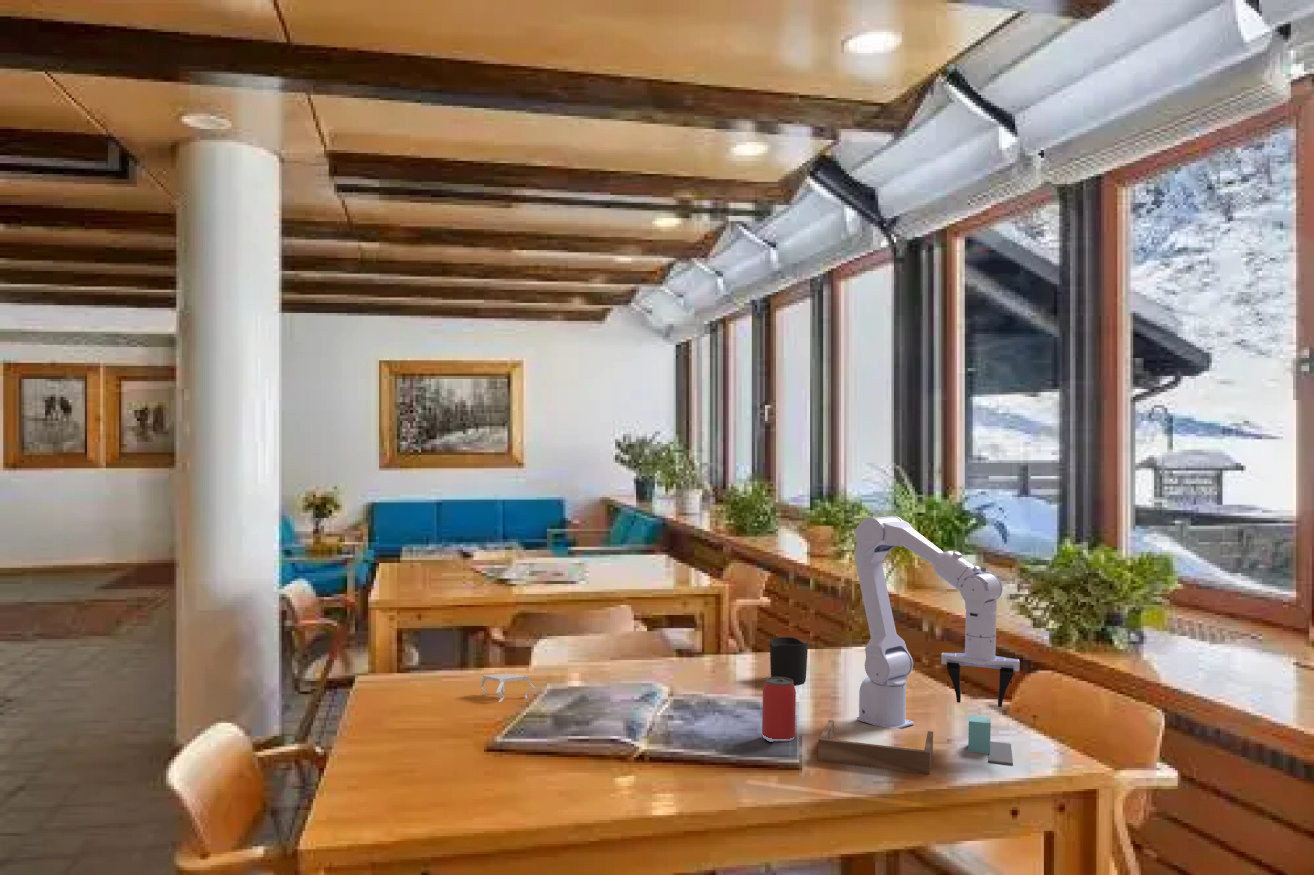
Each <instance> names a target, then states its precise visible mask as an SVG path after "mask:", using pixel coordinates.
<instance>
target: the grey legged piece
mask: <svg viewBox="0 0 1314 875" xmlns="http://www.w3.org/2000/svg"><path fill="white" fill-rule="evenodd" d="M487 680H492V681H495V682H496V681H497V682H499V684H498V687H497V689H496V691H495V694H497V695H498V696H499V697H500V698H499V699H498V700H497V703H500V702H503V700H504V698H505V696H504V694H505V691H506V690H505V689H506V688H505V685H506V684H505V683H508V682H515V681H517V682H518V681H524V680H525V681H526V683H527V684H529V685H530V686H531V688H530V689H528V691H526V692H525V693H523V694H524V698H525V699H528V694H529V693H530V692H532V691H533V690H534V689H536V687H535V685H534V684H533V683H532V682H531V680H530V679H529V676H527V675H520V674H512V673H495V674H484V675H482V680H481V684H480V688H481V690H482V691H483V692H484V695H483V696H484V697H486V696H487V695H488V691H487V690H486V689H485V688H484V685H485V683H486V681H487Z"/></svg>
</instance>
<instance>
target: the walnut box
mask: <svg viewBox="0 0 1314 875" xmlns="http://www.w3.org/2000/svg"><path fill="white" fill-rule="evenodd" d="M834 725H835V720H830V719H829V720H828V721H827V723H826V725H825V727H824V729H823V730H822V732H821V734H820V736H819V737H818V740H817V742H818V745H817V746H818V749H817V761H818V762H826V763H832V764H833V763H834V764H840V765H841V764H842V765H851V766H856V767H858V766H859V767H863V768H864V767H866V768H872V769H873V768H875V769H881V770H890V771H897V772H905V773H912V774H913V773H914V774H922V775H930V773H931V768H932V767H931V766H932V760H933V754H934V731H931V730H928V731H927V732H926V733H927V734H926V740H925V745H924V749H916V748H909V747H901V746H900V747H898V746H891V745H882V744H873V743H866V742H865V743H864V742H858V741H857V742H856V741H847V740H839V739H834V738H835V736H834V735H835V734H834V732H835V726H834Z"/></svg>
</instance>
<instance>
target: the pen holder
mask: <svg viewBox="0 0 1314 875" xmlns="http://www.w3.org/2000/svg"><path fill="white" fill-rule="evenodd" d="M808 648H809V642H803V641H802V640H800V639H798V638H796V637H790V636H780V637H779V636H777V637H772V638H771V639H770V640H769V659H770V660H769V662H770V666H769V667H770V677H785V678H790V679H792V680H793V684H794V686H798V685H803V684H805V682H806V681H807V669H808V668H807V667H808V652H809V650H808Z"/></svg>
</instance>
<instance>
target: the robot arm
mask: <svg viewBox="0 0 1314 875" xmlns="http://www.w3.org/2000/svg"><path fill="white" fill-rule="evenodd" d="M854 535H855V538H856V543H855V549H854V550H855V551H854V561H855V567H856V571H857V572H856V573H857V576H858V582H859V586H860V591H861V595H862V602H863V606H864V610H865V615H866V620H867V625H868V631H869V635H870V639H869V641H868V642H867V644H866V646H865V648H864V652H865V661H864V670H865V674H866V675H867V677H866V678H865V679H863V681H861V684H860V687H859V697H858V702H859V703H858V708H859V709H858V716H857V717H856V720H857V721H859V722H863V723H865V724H866V723H867V724H868V725H873V726H875V727H884V728H888V729H891V730H892V729H902V728H906V727H909V726H913V725H915V721H912V720H910V719H906V718H907V716H906V715H907V714H906V708H907V707H906V706H907V704H906V703H907V702H906V701H907V696H906V695H907V681H908V676H909V675H910V674H911V673H912V672H913V668H914V659H913V657H912V655H911V654H910V652H909V651H908V649H907V645H906V642H905V640H904V639H903V638H902V637H901V636H900V635H899V634H897V629H896V625H895V620H894V615H893V611H892V605H891V601H890V596H889V591H888V587H887V586H888V585H887V582H886V578H885V573H884V567H883V560H884V559H885V558H886V556H887V555H888V554H889V553H890V551H891V550H893V549H894V548H896V547H904V548H906V549H907V550H909V551H910V552H912V553H913V554H915V555H916V556H918V557H920V558H921V559H922V560H924V561H927V562H928V563H929V564H931V565H932V566H933V570H934V573H935V575H937V576H938V577H939V578H941V579H942V580H943V581H946V582H947V583H948V584H950V585H951V587H952V586H953V587H954V588H955V589H956V590H958V591H959V592H960V595H961V598H962V599H963V600H964V605H965V606H964V608H965V633H964V636H965V637H964V640H965V641H964V652H962V653H961V652H941V658H940V659H941V660H940V662H941V664H940V665H944V666H945V665H946V670H947V674H948V675H949V677H950V679H951V682H952V685H953V689H954V692H955V693H954V694H955V697H956V703H957V704H960V703H961V699H962V697H961V696H962V695H961V694H962V693H961V667H962V666H965V667H966V666H967V667H977V668H985V669H986V668H988V669H996V670H997V669H998V670H999V681H998V682H999V687H998V696H997V708H1003V701H1004V697H1005V694H1006V691H1007V690H1008V689H1007V688H1008V687H1009V684H1010V683H1011V681H1012V679H1013V676H1014V672H1020V666H1021V665H1020V659H1019V658H1010V657H1004V656H997V655H996V651H997V648H996V647H997V646H996V644H997V643H996V641H997V640H996V639H997V600H998V599H999V598H1000V597H1001V596H1002V593H1003V583H1002V582H1001V580H1000V579H999V577H998V576H997V575H996V574H995V573H994V572H992V571H983V570H982V568H981V567H980V566H979V565H974V564H972V563H971V562H969V561H967V560H966V559H965V558H963V553H962V552H961V553H960V552H959V551H953V550H947V551H943V550H941V548H939V547H938V546H936V544H934V543H933V542H931V541H930V540H929V539H927V538H926V537H925V536H923V535H922V534H921V533H920V532H919V531H917V530H916V529H914V528H913V527H912V526H911V524H910V522H908V521H905V520H903V519H902V518H901V517H900V516H898V515H888V516H878V517H876V516H875V517H873V516H870V517H869V516H868V517H865V518H863V519H862V520H861V521H860V523H859V524H858V526H857V527H856V529H855V530H854Z"/></svg>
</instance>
